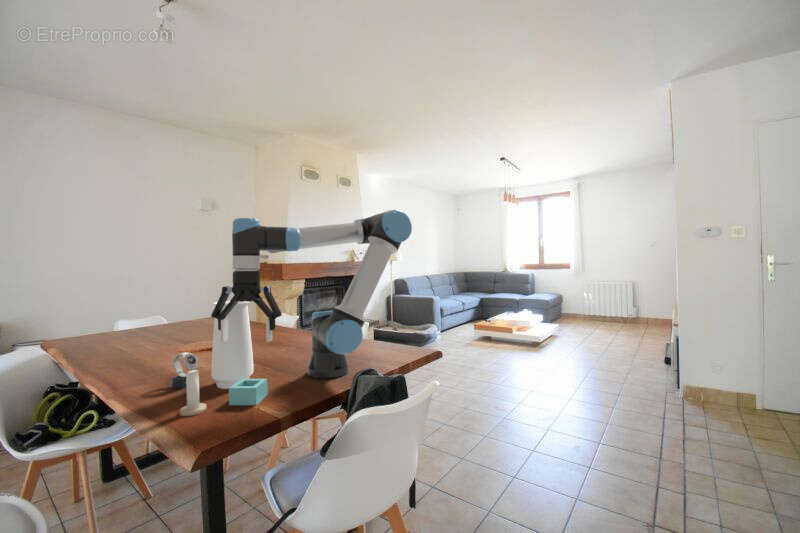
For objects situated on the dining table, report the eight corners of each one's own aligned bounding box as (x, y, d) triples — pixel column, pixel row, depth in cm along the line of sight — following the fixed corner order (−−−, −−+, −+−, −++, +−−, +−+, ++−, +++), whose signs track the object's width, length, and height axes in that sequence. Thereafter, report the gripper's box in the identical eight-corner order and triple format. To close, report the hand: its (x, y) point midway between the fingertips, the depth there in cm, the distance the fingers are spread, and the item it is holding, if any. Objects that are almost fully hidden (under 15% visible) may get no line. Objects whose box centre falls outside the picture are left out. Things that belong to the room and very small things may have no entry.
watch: (188, 389, 114) (187, 355, 114) (168, 387, 116) (167, 354, 116) (201, 383, 120) (201, 351, 120) (182, 381, 122) (182, 350, 122)
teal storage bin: (267, 394, 108) (267, 378, 108) (256, 405, 100) (256, 387, 100) (242, 394, 108) (242, 378, 108) (229, 405, 100) (228, 388, 100)
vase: (257, 376, 126) (255, 299, 126) (249, 388, 114) (247, 303, 113) (218, 379, 124) (216, 300, 123) (206, 392, 111) (204, 305, 111)
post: (211, 406, 100) (210, 368, 100) (197, 416, 93) (196, 375, 93) (189, 406, 100) (188, 368, 100) (174, 416, 93) (173, 375, 93)
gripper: (291, 269, 107) (292, 338, 107) (212, 270, 108) (212, 338, 108) (283, 270, 100) (283, 343, 100) (197, 270, 100) (198, 343, 101)
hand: (246, 341), depth 104 cm, fingers open, 13 cm apart
